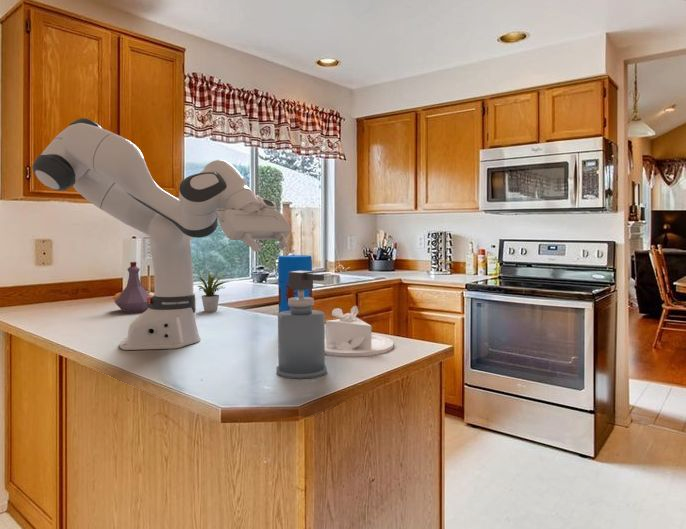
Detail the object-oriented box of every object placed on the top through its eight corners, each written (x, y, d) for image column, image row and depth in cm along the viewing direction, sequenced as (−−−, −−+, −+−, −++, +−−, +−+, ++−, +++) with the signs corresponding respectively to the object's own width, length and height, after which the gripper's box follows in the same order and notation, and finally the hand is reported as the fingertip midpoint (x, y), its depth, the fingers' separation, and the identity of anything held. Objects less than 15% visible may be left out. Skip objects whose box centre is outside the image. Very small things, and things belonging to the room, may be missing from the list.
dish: (291, 345, 150) (291, 307, 149) (357, 333, 165) (357, 299, 164) (342, 362, 130) (342, 319, 129) (411, 348, 145) (411, 309, 144)
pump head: (289, 298, 119) (288, 271, 119) (300, 296, 123) (300, 270, 122) (316, 301, 114) (316, 273, 114) (327, 299, 117) (327, 272, 117)
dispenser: (265, 372, 120) (264, 299, 119) (300, 362, 130) (299, 293, 128) (303, 382, 113) (302, 304, 111) (337, 370, 122) (336, 298, 121)
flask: (163, 310, 210) (162, 261, 208) (124, 315, 197) (122, 264, 196) (144, 306, 221) (142, 260, 219) (106, 311, 208) (104, 262, 207)
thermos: (307, 337, 158) (306, 257, 156) (274, 335, 160) (273, 256, 158) (315, 330, 169) (315, 255, 167) (285, 329, 171) (284, 254, 169)
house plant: (211, 315, 198) (210, 273, 196) (184, 312, 204) (183, 272, 202) (234, 309, 211) (233, 270, 209) (208, 307, 216) (207, 269, 215)
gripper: (218, 198, 121) (246, 240, 116) (278, 202, 137) (305, 239, 132) (206, 217, 124) (233, 259, 119) (266, 219, 140) (292, 256, 135)
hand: (272, 249), depth 126 cm, fingers open, 8 cm apart
